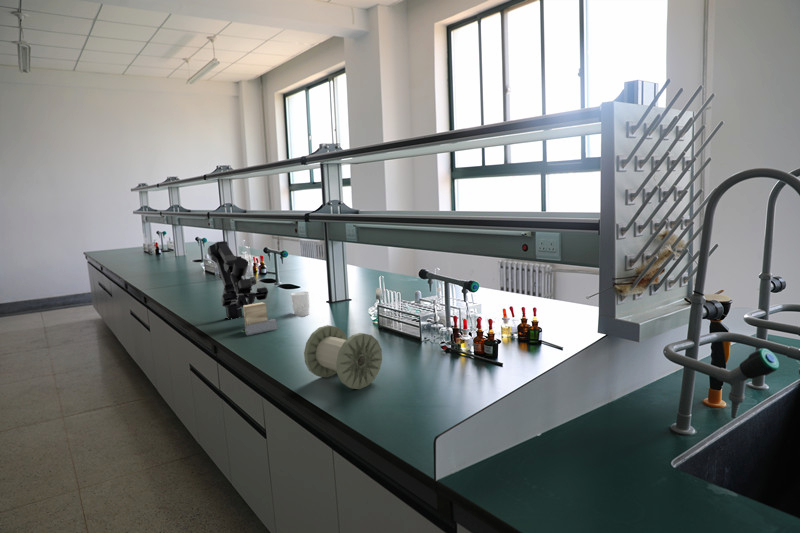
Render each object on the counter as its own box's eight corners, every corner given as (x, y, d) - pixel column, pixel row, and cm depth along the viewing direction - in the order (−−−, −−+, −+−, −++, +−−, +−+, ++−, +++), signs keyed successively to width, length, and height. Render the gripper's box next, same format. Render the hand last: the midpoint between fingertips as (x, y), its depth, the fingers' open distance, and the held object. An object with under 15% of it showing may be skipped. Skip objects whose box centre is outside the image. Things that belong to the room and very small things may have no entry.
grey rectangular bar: (245, 334, 203) (244, 324, 203) (275, 328, 210) (274, 318, 209) (247, 335, 201) (246, 325, 200) (277, 329, 208) (276, 319, 207)
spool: (306, 382, 150) (302, 332, 148) (347, 367, 161) (343, 320, 158) (342, 396, 139) (337, 341, 136) (383, 379, 149) (379, 328, 147)
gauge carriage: (241, 330, 209) (238, 306, 207) (265, 326, 214) (262, 302, 212) (244, 332, 205) (241, 308, 204) (268, 327, 211) (265, 303, 209)
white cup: (301, 317, 229) (299, 295, 228) (289, 316, 234) (287, 294, 233) (314, 313, 235) (312, 292, 234) (302, 312, 240) (300, 290, 239)
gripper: (219, 274, 211) (230, 305, 204) (264, 268, 221) (276, 297, 214) (216, 291, 219) (227, 321, 211) (260, 284, 229) (271, 312, 221)
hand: (250, 312), depth 214 cm, fingers closed
